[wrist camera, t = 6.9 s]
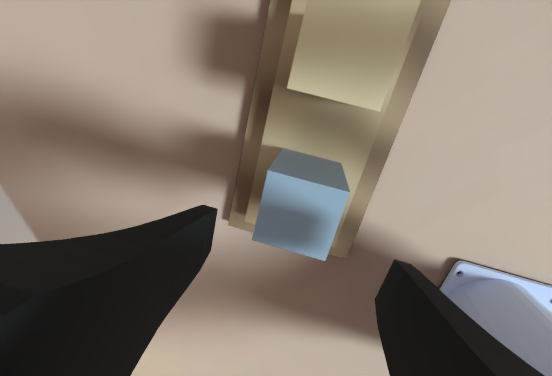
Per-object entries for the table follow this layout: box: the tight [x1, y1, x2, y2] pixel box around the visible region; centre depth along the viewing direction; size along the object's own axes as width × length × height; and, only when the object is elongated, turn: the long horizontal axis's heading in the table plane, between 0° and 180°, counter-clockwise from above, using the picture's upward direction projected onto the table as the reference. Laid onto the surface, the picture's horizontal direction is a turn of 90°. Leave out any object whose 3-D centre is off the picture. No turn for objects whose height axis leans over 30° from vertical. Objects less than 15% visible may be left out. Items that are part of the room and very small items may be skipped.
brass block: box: [287, 0, 421, 112], centre depth 13 cm, size 4×4×6 cm
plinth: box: [228, 0, 451, 260], centre depth 18 cm, size 19×10×2 cm, turn 167°
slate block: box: [252, 148, 350, 261], centre depth 16 cm, size 4×4×6 cm
